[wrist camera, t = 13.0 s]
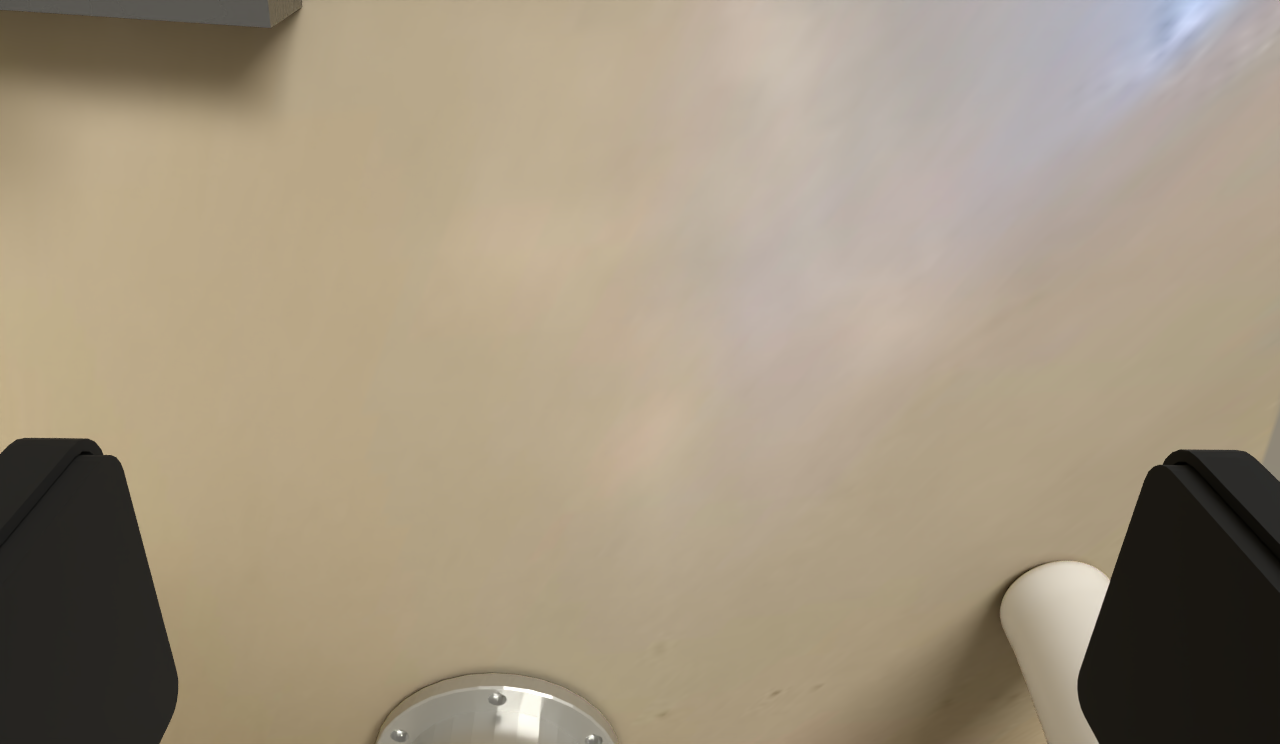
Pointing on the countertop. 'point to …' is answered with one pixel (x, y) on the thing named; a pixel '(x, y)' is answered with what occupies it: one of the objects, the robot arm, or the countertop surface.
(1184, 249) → the countertop surface
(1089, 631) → the drinking glass
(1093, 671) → the robot arm
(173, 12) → the cup bracket
